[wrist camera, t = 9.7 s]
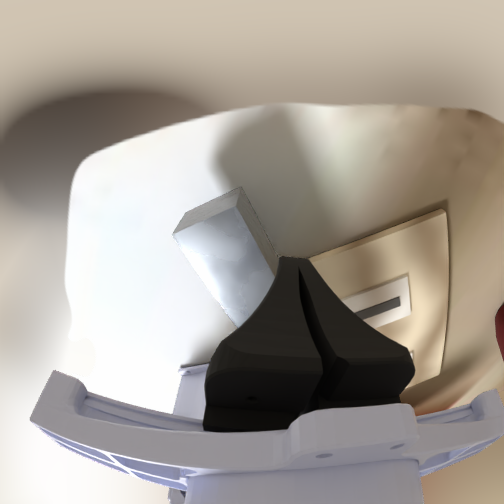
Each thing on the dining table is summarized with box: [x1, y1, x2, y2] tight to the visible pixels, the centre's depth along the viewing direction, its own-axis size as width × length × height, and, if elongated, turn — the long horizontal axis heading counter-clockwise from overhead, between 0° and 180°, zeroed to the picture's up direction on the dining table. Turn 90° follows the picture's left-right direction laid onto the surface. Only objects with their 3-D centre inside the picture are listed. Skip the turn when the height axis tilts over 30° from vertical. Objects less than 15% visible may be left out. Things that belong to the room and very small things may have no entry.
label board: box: [308, 208, 449, 389], centre depth 26 cm, size 17×26×1 cm, turn 25°
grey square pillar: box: [172, 187, 279, 328], centre depth 20 cm, size 17×4×4 cm, turn 26°
